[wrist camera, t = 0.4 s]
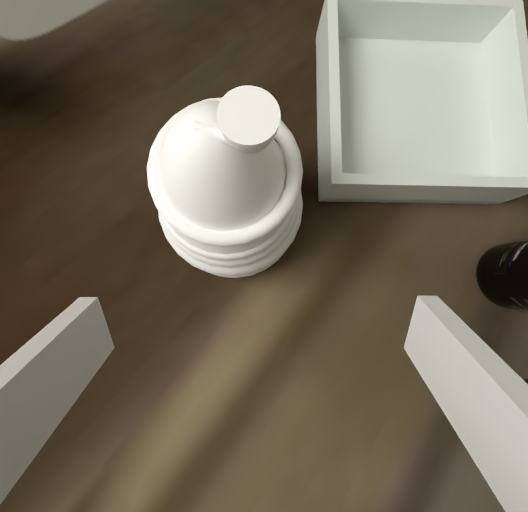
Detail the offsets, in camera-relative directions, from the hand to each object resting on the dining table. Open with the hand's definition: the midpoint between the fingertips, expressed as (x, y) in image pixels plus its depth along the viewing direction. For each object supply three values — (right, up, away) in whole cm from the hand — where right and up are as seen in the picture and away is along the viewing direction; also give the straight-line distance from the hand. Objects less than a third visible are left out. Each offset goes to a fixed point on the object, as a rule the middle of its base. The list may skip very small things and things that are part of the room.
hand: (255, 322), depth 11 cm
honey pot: (-3, +7, +18) cm, 19 cm away
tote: (+16, +19, +19) cm, 31 cm away
